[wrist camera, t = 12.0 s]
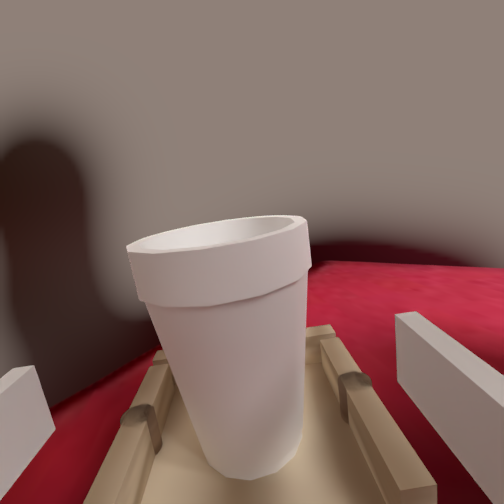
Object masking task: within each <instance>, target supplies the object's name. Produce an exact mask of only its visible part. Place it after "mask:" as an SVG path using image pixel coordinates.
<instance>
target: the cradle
mask: <svg viewBox="0 0 504 504" xmlns="http://www.w3.org/2000/svg"><path fill="white" fill-rule="evenodd" d="M153 365H154V366H150V367H149V369H148V371H147V373H146V375H145V377H144V379H143V381H142V383H141V385H140V387H139V390H138V392H137V394H136V396H135V398H134V400H133V402H132V404H131V406H130V408H129V409H128V410H127V411H126V412H125V413H124V414H123V415H122V417H121V419H120V424H121V427H120V429H119V431H118V433H117V435H116V437H115V439H114V441H113V443H112V445H111V447H110V449H109V451H108V453H107V455H106V457H105V459H104V461H103V464H102V466H101V468H100V470H99V472H98V474H97V476H96V478H95V480H94V482H93V484H92V486H91V488H90V490H89V492H88V494H87V496H86V498H85V501H84V503H83V504H437V484H436V482H435V481H434V479H433V478H432V476H431V475H430V473H429V472H428V470H427V469H426V467H425V466H424V464H423V463H422V461H421V460H420V458H419V457H418V455H417V454H416V452H415V451H414V449H413V448H412V446H411V445H410V443H409V442H408V440H407V439H406V437H405V436H404V434H403V433H402V431H401V430H400V428H399V427H398V425H397V424H396V422H395V421H394V419H393V418H392V416H391V415H390V413H389V412H388V410H387V409H386V407H385V406H384V404H383V403H382V401H381V400H380V398H379V397H378V396H377V394H376V393H375V391H374V390H373V388H372V381H371V379H370V377H369V376H368V375H366V374H365V373H362V372H361V370H360V369H359V367H358V366H357V364H356V363H355V361H354V360H353V358H352V357H351V355H350V354H349V352H348V351H347V349H346V348H345V346H344V345H343V343H342V342H341V340H340V339H339V337H336V334H335V331H334V330H333V328H332V327H331V325H330V324H329V325H322V326H316V327H309V328H306V342H305V376H304V410H303V429H302V439H301V441H300V444H299V446H298V449H297V452H296V454H295V456H294V457H293V458H292V459H291V460H290V461H289V462H287V463H286V464H285V465H284V466H283V467H282V468H281V469H280V470H278V471H277V472H276V473H273V474H270V475H267V476H263V477H260V478H257V479H254V480H243V479H235V478H227V477H225V476H223V475H222V474H221V473H219V472H218V471H217V470H215V469H214V468H213V467H211V466H210V465H209V464H208V462H207V459H206V457H205V455H204V453H203V450H202V447H201V445H200V442H199V440H198V437H197V435H196V432H195V429H194V427H193V424H192V422H191V419H190V417H189V414H188V412H187V409H186V406H185V404H184V401H183V399H182V396H181V394H180V391H179V388H178V386H177V383H176V381H175V378H174V376H173V373H172V371H171V368H170V365H169V363H168V360H167V358H166V355H165V353H164V350H160V351H157V352H156V355H155V357H154V359H153Z"/></svg>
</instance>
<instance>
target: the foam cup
mask: <svg viewBox="0 0 504 504" xmlns="http://www.w3.org/2000/svg"><path fill="white" fill-rule="evenodd" d="M126 247H127V252H128V255H129V260H130V264H131V268H132V272H133V276H134V281H135V285H136V289H137V293H138V297H139V300H140V301H143V302H145V303H146V306H147V309H148V312H149V314H150V316H151V319H152V322H153V324H154V327H155V329H156V332H157V334H158V337H159V340H160V342H161V345H162V347H163V350H164V353H165V355H166V358H167V360H168V363H169V365H170V368H171V371H172V373H173V376H174V378H175V381H176V383H177V386H178V388H179V391H180V394H181V396H182V399H183V401H184V404H185V406H186V409H187V412H188V414H189V417H190V419H191V422H192V424H193V427H194V429H195V432H196V435H197V437H198V440H199V442H200V445H201V447H202V450H203V453H204V455H205V457H206V459H207V462H208V464H209V465H210V466H211V467H213V468H214V469H215V470H217V471H218V472H219V473H221V474H222V475H223V476H225V477H227V478H235V479H243V480H254V479H257V478H260V477H263V476H267V475H270V474H273V473H276V472H277V471H278V470H280V469H281V468H282V467H283V466H284V465H285V464H286V463H287V462H289V461H290V460H291V459H292V458H293V457H294V456H295V454H296V452H297V449H298V446H299V444H300V441H301V439H302V429H303V410H304V376H305V342H306V308H307V275H308V269H309V268H310V267H311V266H312V265H311V255H310V245H309V235H308V225H307V220H305V219H304V218H302V217H301V216H289V215H275V216H257V217H247V218H239V219H230V220H223V221H217V222H211V223H205V224H199V225H193V226H189V227H184V228H179V229H175V230H171V231H166V232H163V233H159V234H156V235H152V236H149V237H145V238H142V239H140V240H138V241H135V242H133V243H131V244H130V245H127V246H126Z"/></svg>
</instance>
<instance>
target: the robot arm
mask: <svg viewBox="0 0 504 504" xmlns="http://www.w3.org/2000/svg"><path fill="white" fill-rule="evenodd" d="M395 332H396V358H397V382H398V383H399V384H400V385H401V387H402V388H403V389H404V390H405V392H406V393H407V394H408V396H409V397H410V398H411V399H412V401H413V402H414V403H415V405H416V406H417V407H418V408H419V410H420V411H421V412H422V413H423V415H424V416H425V417H426V419H427V420H428V421H429V422H430V424H431V425H432V426H433V428H434V429H435V430H436V431H437V433H438V434H439V435H440V437H441V438H442V439H443V440H444V442H445V443H446V444H447V445H448V447H449V448H450V449H451V451H452V452H453V453H454V454H455V456H456V457H457V458H458V460H459V461H460V462H461V463H462V465H463V466H464V467H465V468H466V470H467V471H468V472H469V474H470V475H471V476H472V477H473V479H474V480H475V481H476V483H477V484H478V485H479V486H480V488H481V489H482V490H483V492H484V493H485V494H486V495H487V497H488V498H489V499H490V500H491V502H492V503H493V504H504V375H502V374H501V373H499V372H498V371H497V370H495V369H494V368H493V367H491V366H490V365H489V364H487V363H486V362H484V361H483V360H482V359H480V358H479V357H478V356H476V355H475V354H473V353H472V352H471V351H469V350H468V349H467V348H465V347H464V346H463V345H461V344H460V343H458V342H457V341H456V340H454V339H453V338H452V337H450V336H449V335H448V334H446V333H445V332H443V331H442V330H441V329H439V328H438V327H437V326H435V325H434V324H433V323H431V322H430V321H428V320H427V319H426V318H424V317H423V316H422V315H420V314H419V313H418V312H416V311H415V312H408V313H401V314H395ZM54 431H55V426H54V423H53V420H52V417H51V414H50V411H49V408H48V405H47V402H46V399H45V396H44V393H43V390H42V387H41V385H40V381H39V378H38V375H37V372H36V370H35V367H34V365H33V366H26V367H19V368H13V369H12V370H11V371H9V372H8V373H7V374H5V375H4V376H3V377H2V378H0V500H1V499H2V498H3V497H4V495H5V494H6V493H7V491H8V490H9V489H10V488H11V486H12V485H13V484H14V482H15V481H16V480H17V479H18V477H19V476H20V475H21V473H22V472H23V471H24V469H25V468H26V467H27V466H28V464H29V463H30V462H31V460H32V459H33V458H34V457H35V455H36V454H37V453H38V451H39V450H40V449H41V448H42V446H43V445H44V444H45V442H46V441H47V440H48V438H49V437H50V436H51V435H52V433H53V432H54Z"/></svg>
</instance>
